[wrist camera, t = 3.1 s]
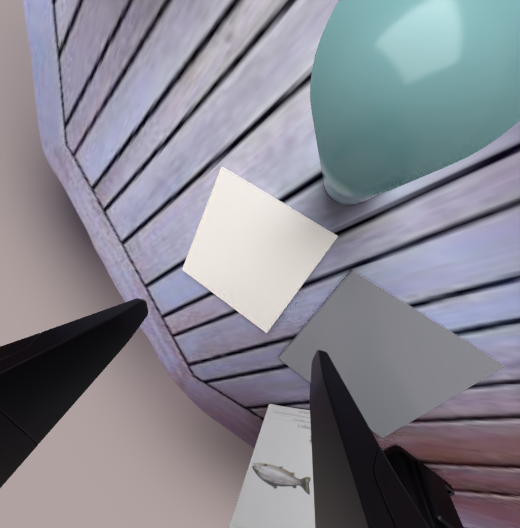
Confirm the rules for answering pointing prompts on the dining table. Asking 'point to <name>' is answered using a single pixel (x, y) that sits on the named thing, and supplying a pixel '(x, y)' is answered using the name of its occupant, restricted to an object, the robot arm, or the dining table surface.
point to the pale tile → (254, 249)
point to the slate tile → (387, 354)
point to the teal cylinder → (411, 89)
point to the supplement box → (279, 474)
